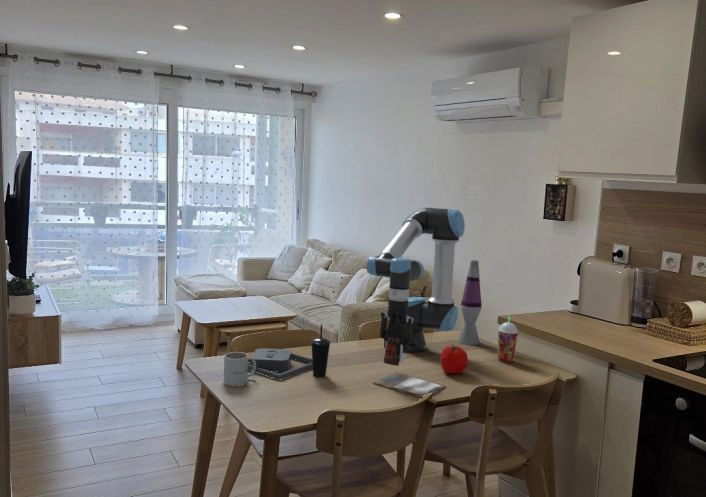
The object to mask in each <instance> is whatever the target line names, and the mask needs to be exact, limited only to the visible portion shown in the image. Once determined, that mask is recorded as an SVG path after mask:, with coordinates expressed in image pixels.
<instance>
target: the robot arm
mask: <svg viewBox="0 0 706 497" xmlns="http://www.w3.org/2000/svg"><path fill="white" fill-rule="evenodd" d="M465 226H466V225H465V218H464V215H463V213H462V212H461V211H460V210H458V209H453V208H437V207H423V208H421V209H418V210H416V211H414V212H413V213H411V214H410V215H408V216H407V217H406V218H405V219H404V221H403V222H402V224H401V228H400V229H399V231H398V232H397V233H396V234H395V235H394V236H393V238H392V239H391V240H390V241H389V243H388V244H386V246H385V248H384V249H383V251H382V252H381V253H380V254H379V255H378V256H370V257H369V258H368V259H367V261H366V266H365V267H366V272H367V273H368V275H371V276H376V277H382V278H383V277H384V278H389V285H388V286H389V288H388V298H389V299H388V300H387V301H388V302H387V308H388V310H387V311H384V312H380V317H381V321H380V322H381V323H380V331H379V332H380V333H379V338H380V339H383V348H384V349H385V350H386V345H387V340H388V335H389V330H390V326H391V324H392V323H393V324H398V327H400V332H401V338H402V343H403V344H401V346H400V361H399V363H400V362H401V363H403V362H404V361H405V360H406V354H407V353H408V352H409V353H410V352H411V353H418V352H422V351H425V350H426V349H427V342H426V338H425V334H424V329H430V330H435V331H439V332H451V331H452V330H453V329H454V327H455V325H456V323H457V321H458V317H459V308H458V307H457V306H455V300H454V299H453V298H452V294H453V293H452V292H453V275H454V262H455V249H456V248H455V247H456V244H457V243H458V242H459V241H460V238H461V237H463V236H464V234H465V232H464V231H465ZM424 234H426V235H427V234H428V235H432V236H431V238H432V241H433V242H434V244H435V245H434V259H433V260H434V261H433V273H432V274H433V275H432V289H431V296H430V297H429V298H427V301H426V298H425V297H422V296H410V285H411V284H410V283H411V282H412V281H416V280H418V279H420V278H421V277H422V276H423V274H424V271H425V270H424V265H423V264H422V263H421V262H420V261H419V260H416V259H415V260H414V259H412V260H411V259H410V258H406V257H403V255H404V254H405V253H406V251H407V250H408V249H409V247H410V246H411V245H412V243H413V242H414V241H415V240H416V239H418V238H419V237H421V235H424ZM405 326H406V327H405ZM385 350H384V351H385Z"/></svg>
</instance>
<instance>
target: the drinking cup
mask: <svg viewBox="0 0 706 497" xmlns="http://www.w3.org/2000/svg"><path fill="white" fill-rule="evenodd" d="M319 334H320V335H319V337H316V338H312V339H311V340H310V343H311V357H312V358H311V359H312V363H313V368H312V375H313V377H314V378H324V377H326V376H327V368H328V367H327V366H328V360H329V354H330V345H331V342H332V341H331V340H330V339H328V338H326V337H323V324H320V331H319Z"/></svg>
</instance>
